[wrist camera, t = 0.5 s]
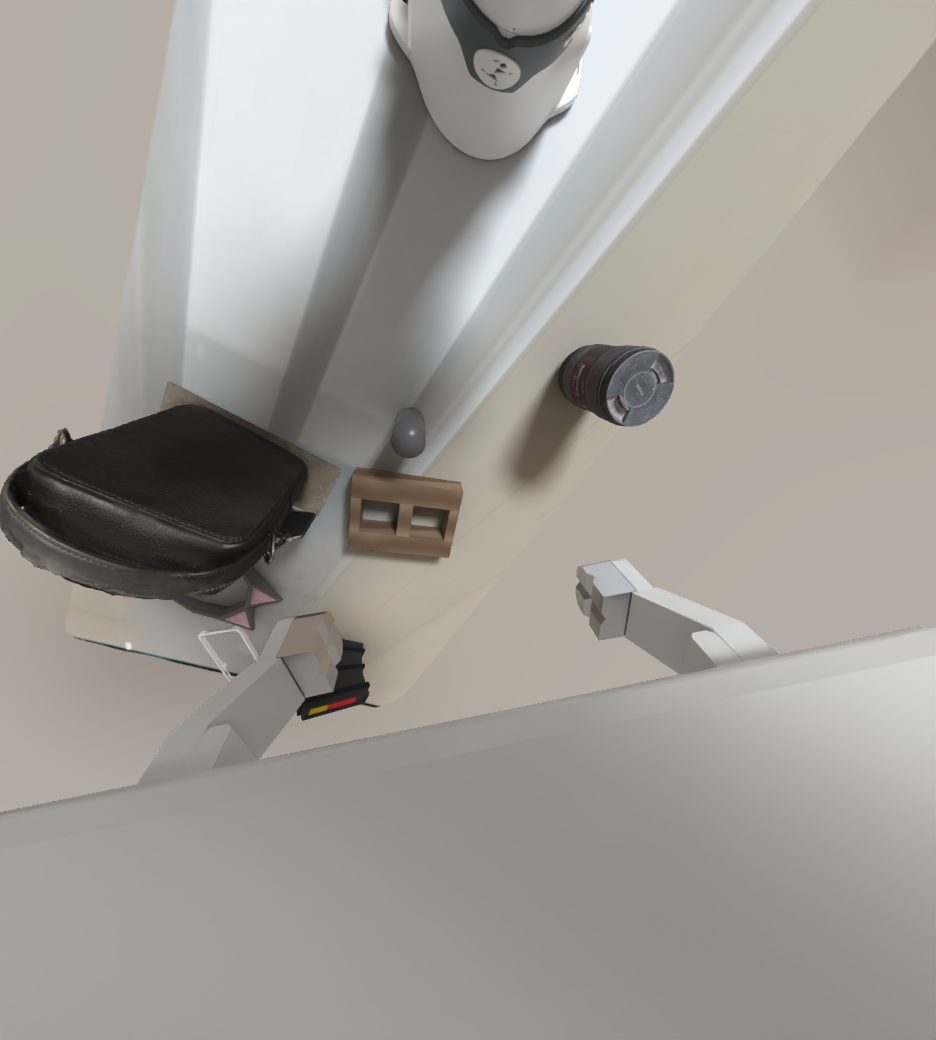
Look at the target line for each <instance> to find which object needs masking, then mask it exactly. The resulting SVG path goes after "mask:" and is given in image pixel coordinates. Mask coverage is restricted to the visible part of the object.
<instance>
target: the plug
mask: <svg viewBox="0 0 936 1040" xmlns="http://www.w3.org/2000/svg"><path fill="white" fill-rule="evenodd" d="M391 444H392V447H393V449H394V451H395V452H396V453H397V454H398V455H400V456H402V457H404V458H414V457H417V456H418V455H420V454H421V453H422V451H423V450H424V448H425V428H424V419H423V416H422V414H421V413H420V412H419V411H417V410H416V409H413V408H406V409H403V410H402V411H400V412H399V414H398V415H397V418H396V422H395V425H394V429H393V433H392V437H391Z"/></svg>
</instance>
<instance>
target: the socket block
mask: <svg viewBox="0 0 936 1040" xmlns="http://www.w3.org/2000/svg"><path fill="white" fill-rule="evenodd" d="M462 496H463V490H462V487H461V483H460V482H454V481H447V480H441V479H434V478H427V477H420V476H413V475H407V474H400V473H393V472H386V471H379V470H372V469H366V468H359V467H356V469H355V472H354V474H353V476H352V487H351V506H350V525H349V544H348V548H352V549H361V550H370V551H380V552H390V553H391V552H393V553H403V554H411V555H421V556H431V557H444V558H449V555H450V550H451V546H452V541H453V537H454V532H455V528H456V523H457V519H458V514H459V509H460V505H461V500H462ZM364 499H366V500H374V501H382V502H390V503H397V504H400V506H399V514H398V522H397V523H392V522H383V521H374V520H366V519H363V506H364ZM413 506H421V507H429V508H436V509H444V510H446V512H445V517H444V522H443V527H442V528H435V527H426V526H418V525H411V519H412V513H413Z"/></svg>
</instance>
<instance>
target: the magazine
mask: <svg viewBox="0 0 936 1040" xmlns="http://www.w3.org/2000/svg"><path fill="white" fill-rule="evenodd" d="M342 642H343V653H342V657H341V660H340V661H339V662H338V664H337V665H336V666H335V667H336V669H337V671H338V674H337V678H336V683H335V687H334V691H333V692H329V693H325V694H320V695H316V696H311V697H307V698H305V700H304V702H303V703H302V704H301V705H300V707H299V708H298V709H297V716H299V715H301V719H302V721H303V720H307V719H311V718H314V717H318V716H321V715H325V714H328V713H332V712H335V711H338V710H342V709H346V708H349V707H353V706H356V705H360V704H363V703H365V701H366V699H367V697H368V695H369V691H368V688H369V687H370V684H369V682H365V679H364V676H363V669H364V667H365V664H362V656H363V654H364V652H365V649H364V648H363V644H362V643H358V642H353V641H348V640H344V639H342Z"/></svg>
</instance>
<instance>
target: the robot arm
mask: <svg viewBox="0 0 936 1040" xmlns="http://www.w3.org/2000/svg"><path fill="white" fill-rule="evenodd" d="M593 2H594V0H408V4H406V3H405V2H404V1H403V0H390V6H389V23H390V27H391V30H392V33H393V35H394V37H395V39H396V41H397V42H398V44H399V46H400V47H401V49H402V50H403V52H404V53H405V55H406V56H407V57H408V59H409V60H410V62H411V64H412V66H413V68H414V71H415V74H416V77H417V80H418V84H419V87H420V90H421V94H422V96H423V99H424V102H425V104H426V107H427V109H428V111H429V113H430V115H431V117H432V119H433V121H434V122H435V124H436V125H437V127H438V128H439V130H440V131H441V132H442V134H443V135H444V136H445V137H446V138H447V139H448V140H449V141H450V142H451V143H452V144H453V145H454V146H455V147H456V148H458V149H459V150H461V151H462V152H464V153H466V154H468V155H470V156H472V157H475V158H479V159H485V160H495V159H501V158H504V157H507V156H509V155H512V154H514V153H515V152H517V151H518V150H520V149H521V148H522V147H524V146H525V145H526V144H527V143H528V142H529V141H530V140H531V139H532V138H533V137H534V135H535V134H536V133H537V132H538V130H539V129H540V128H541V127H542V125H543V124H544V123H545V122H546V121H547V120H548V119H549V118H551V117H553V116H555V115H557V114H560V113H561V112H563V111H565V110H566V109H568V108H569V107H570V106H571V105H572V104H573V103H574V101H575V99H576V97H577V95H578V92H579V88H580V82H581V73H582V65H583V56H584V52H585V50H586V48H587V46H588V43H589V41H590V38H591V34H592V28H591V27H590V21H591V15H592V6H593ZM577 578H578V579H579V581H580V582H579V583H578V585H577V586H576V597H577V602H578V605H579V607H580V609H581V611H582V613H583V614H584V615H586V616H588V617H589V618H590V621H589V625H590V626H591V628H592V630H593V631H594V633H595V635H596V636H597V638H598V640H604V639H610V638H616V637H621V636H625V638H627V639H628V640H630V641H631V642H633V643H634V644H636V645H637V646H639V647H640V648H642V649H643V650H645V651H646V652H647V653H649V654H651V655H652V656H653V657H655V658H656V659H658V660H660V661H661V662H662V663H664V664H665V665H667V666H668V667H670V668H671V669H673V670H674V671H676V672H677V673H679V674H680V675H676V676H671V677H666V678H661V679H656V680H651V681H647V682H641V683H636V684H631V685H626V686H621V687H617V688H611V689H606V690H602V691H597V692H592V693H587V694H582V695H577V696H572V697H567V698H563V699H557V700H552V701H547V702H542V703H537V704H533V705H527V706H523V707H518V708H513V709H508V710H503V711H498V712H493V713H488V714H483V715H478V716H473V717H468V718H464V719H458V720H453V721H449V722H443V723H439V724H434V725H429V726H423V727H418V728H414V729H409V730H404V731H399V732H394V733H389V734H385V735H379V736H374V737H369V738H364V739H359V740H354V741H349V742H344V743H340V744H335V745H329V746H324V747H320V748H315V749H310V750H305V751H300V752H295V753H290V754H285V755H280V756H275V757H270V758H265V759H260V758H261V756H262V755H263V754H264V752H265V751H266V750H267V748H268V747H269V746H270V745H271V743H272V742H273V740H274V739H275V738H276V737H277V735H278V734H279V733H280V731H281V730H282V728H284V726H285V725H286V724H287V722H288V721H289V720H290V718H291V717H292V716H293V715H294V713H295V712H296V711H297V709H298V708H299V707H300V705H301V704H302V703H303V702H304V700H305V698H307V697H311V696H316V695H320V694H325V693H329V692H333V691H334V687H335V683H336V678H337V674H338V671H337V669H336V667H335V666H336V665H337V664H338V662H339V661H340V660H341V657H342V653H343V642H342V637H341V634H340V631H339V630H338V629H336V628H335V627H333V624H334V618H333V616H332V614H331V612H328V611H327V612H321V613H314V614H308V615H302V616H296V617H291V618H284V619H280V620H279V621H278V622H277V623H276V624H275V626H274V628H273V630H272V632H271V634H270V636H269V638H268V640H267V642H266V644H265V646H264V648H263V650H262V652H261V654H260V656H259V658H258V660H257V662H256V663H251V664H250V665H249V666H248V667H247V668H245V669H244V670H243V671H242V672H241V673H239V674H238V675H237V676H236V677H235V678H234V679H232V680H231V681H230V682H229V683H228V684H227V685H225V686H224V687H223V688H222V689H221V690H219V691H218V692H217V693H216V694H215V695H214V696H212V697H211V698H210V699H209V700H208V701H207V702H206V703H204V704H203V705H202V706H201V707H200V708H198V709H197V710H196V711H195V712H194V713H192V714H191V715H190V716H189V717H188V718H187V719H185V720H184V721H183V722H182V723H181V724H180V725H178V726H177V727H176V728H175V729H174V730H172V731H171V732H170V733H169V734H168V736H167V737H166V739H165V741H164V742H163V744H162V745H161V747H160V749H159V750H158V752H157V754H156V755H155V757H154V758H153V760H152V761H151V763H150V765H149V766H148V768H147V769H146V771H145V772H144V774H143V776H142V777H141V779H140V781H139V782H138V784H137V785H132V786H127V787H122V788H117V789H112V790H107V791H102V792H97V793H92V794H87V795H82V796H78V797H73V798H68V799H63V800H58V801H53V802H48V803H43V804H38V805H33V806H28V807H23V808H18V809H14V810H9V811H4V812H0V1040H936V627H915V628H908V629H902V630H897V631H893V632H888V633H883V634H878V635H874V636H868V637H864V638H859V639H854V640H849V641H844V642H840V643H835V644H829V645H825V646H820V647H815V648H810V649H805V650H800V651H796V652H790V653H785V654H780V655H779V654H778V653H777V652H776V651H775V650H773V649H772V648H771V647H770V646H769V645H768V644H766V643H765V642H764V641H763V640H762V639H761V638H760V637H759V636H757V635H756V634H755V633H754V632H753V631H752V630H751V629H750V628H748V627H747V626H746V625H745V624H744V623H743V622H741V621H738V620H736V619H734V618H731V617H729V616H726V615H724V614H721V613H719V612H716V611H714V610H711V609H709V608H706V607H704V606H702V605H699V604H697V603H694V602H691V601H689V600H687V599H685V598H682V597H680V596H677V595H675V594H672V593H670V592H667V591H665V590H663V589H660V588H652V586H650V584H649V583H648V582H647V581H646V580H645V579H644V578H643V577H642V576H641V575H640V574H639V573H638V572H637V571H636V570H635V568H634V567H633V566H632V565H631V564H630V563H629V562H628V561H627V560H626V559H624V558H618V559H613V560H608V561H605V562H600V563H594V564H589V565H583V566H578V569H577ZM259 759H260V760H259Z"/></svg>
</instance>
